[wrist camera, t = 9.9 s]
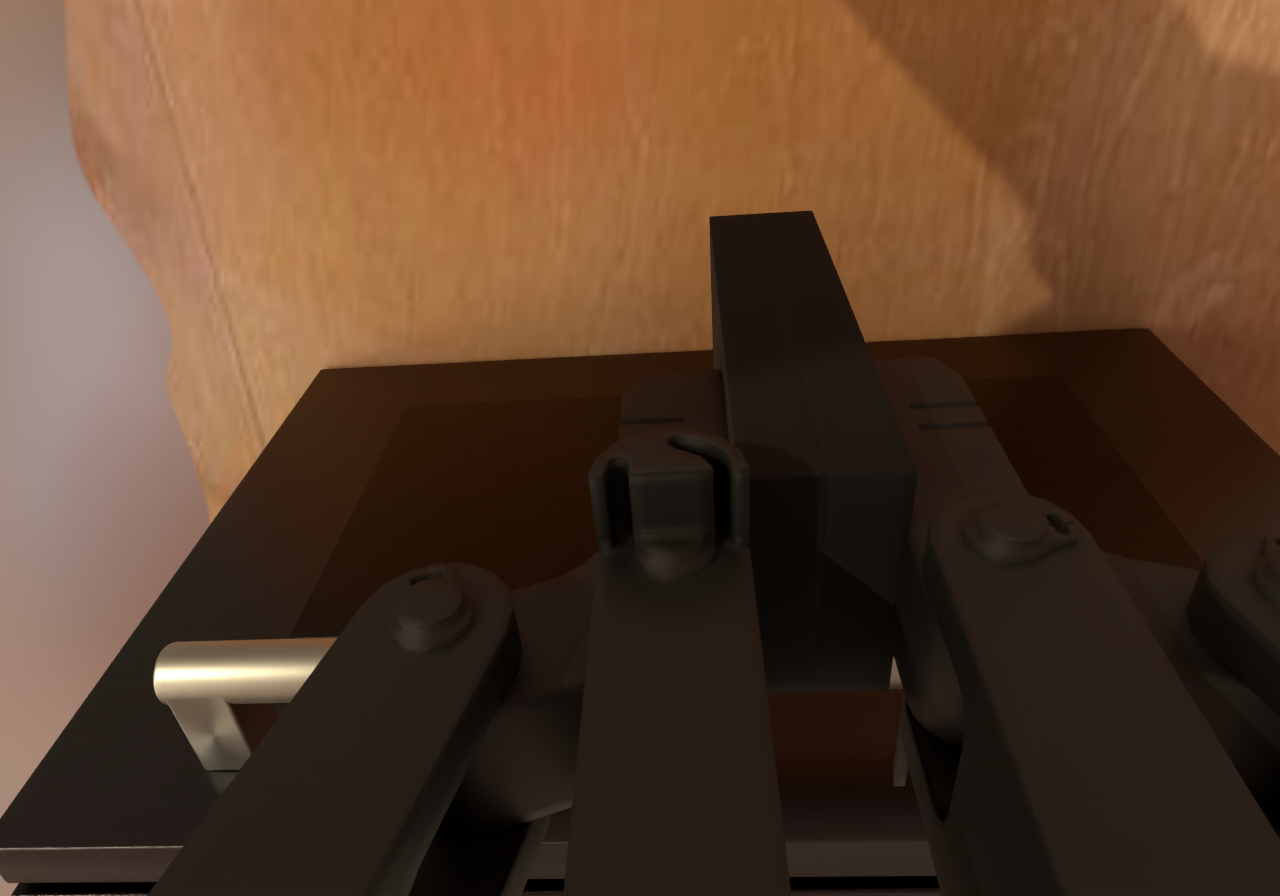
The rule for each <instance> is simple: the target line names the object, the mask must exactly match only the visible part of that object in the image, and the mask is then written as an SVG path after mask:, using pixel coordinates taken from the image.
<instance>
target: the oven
mask: <svg viewBox="0 0 1280 896" xmlns="http://www.w3.org/2000/svg"><path fill="white" fill-rule="evenodd" d="M789 879H790V888H791V896H942V895H941V891H940V887H939V883H938V879H937V876H885V877H789ZM564 882H565V879H528V880H527V883H526V886H525V888H524V891H523V893H522V896H563V892H564ZM156 883H157V882H85V883H19V884H18V885H17V887H16V888H15V890H14V891H13V893H12V895H11V896H147V895H148V894H149V892H150V891H151V889H152V888H153V887H154V885H155V884H156Z"/></svg>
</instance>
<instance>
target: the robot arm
mask: <svg viewBox="0 0 1280 896" xmlns="http://www.w3.org/2000/svg"><path fill="white" fill-rule="evenodd" d="M710 254H711V291H712V328H713V366H714V370H694V371H674V372H653V373H641V374H640V375H639V376H638V377H637V378H636V379H635V381H634V382H633V383H632V384H631V385H630V387H629V388H628V389H627V390H626V391H625V393H624V394H623V395H622V403H621V414H620V425H619V436H618V441H617V442H614V443H613V444H612V445H611V446H609V447H608V448H607V449H606V450H605V451H603V452H602V453H601V454H600V455H598V456H597V457H596V459H595V461H594V463H593V465H592V467H591V470H590V472H589V474H588V479H589V487H590V495H591V503H592V510H593V518H594V526H595V534H596V542H597V549H598V551H597V552H596V553H595V554H594V555H593V556H592V557H590V558H589V559H588V560H587V561H586V562H585V563H584V564H582V565H580V566H579V567H577V568H575V569H573V570H572V571H570V572H568V573H567V574H564V575H562V576H559V577H556V578H553V579H551V580H548V581H545V582H542V583H538V584H535V585H531V586H527V587H524V588H520V589H516V590H513V591H509V589H508V586H507V584H505V583H504V582H503V581H502V580H501V579H500V578H499V577H497V576H496V575H495V574H494V573H493V572H492V571H490V570H487V569H484V568H481V567H477V566H474V565H471V564H468V563H437V564H433V565H430V566H426V567H422V568H418V569H414V570H411V571H408V572H406V573H404V574H402V575H400V576H399V577H397V578H395V579H393V580H391V581H389V582H387V583H386V584H384V585H382V586H381V587H380V588H379V589H378V590H377V591H376V592H375V593H374V594H373V595H372V596H371V597H370V598H368V599H367V600H366V601H365V602H364V603H363V604H362V605H361V607H360V608H359V609H358V611H357V612H356V613H355V615H354V616H353V617H352V619H351V620H350V621H349V623H348V624H347V626H346V627H345V628H344V630H343V631H342V632H341V634H340V635H339V636H338V638H337V639H336V640H335V642H334V643H333V644H332V646H331V647H330V649H329V650H328V651H327V653H326V654H325V655H324V657H323V658H322V659H321V661H320V662H319V663H318V665H317V666H316V667H315V669H314V670H313V672H312V673H311V674H310V676H309V677H308V678H307V680H306V681H305V682H304V684H303V685H302V686H301V688H300V689H299V691H298V692H297V693H296V695H295V696H294V697H293V699H292V700H291V701H290V703H289V704H288V705H287V707H286V708H285V709H284V711H283V712H282V714H281V715H280V716H279V718H278V719H277V720H276V722H275V723H274V724H273V726H272V727H271V728H270V730H269V731H268V732H267V734H266V735H265V737H264V738H263V739H262V741H261V742H260V743H259V745H258V746H257V747H256V749H255V750H254V751H253V753H252V754H251V755H250V757H249V758H248V760H247V761H246V762H245V764H244V765H243V766H242V768H241V769H240V770H239V772H238V773H237V774H236V776H235V777H234V778H233V780H232V781H231V783H230V784H229V785H228V787H227V788H226V789H225V791H224V792H223V793H222V795H221V796H220V797H219V799H218V800H217V801H216V803H215V804H214V806H213V807H212V808H211V810H210V811H209V812H208V814H207V815H206V816H205V818H204V819H203V820H202V822H201V823H200V824H199V826H198V827H197V829H196V830H195V831H194V833H193V834H192V835H191V837H190V838H189V839H188V841H187V842H186V843H185V845H184V846H183V848H182V849H181V850H180V852H179V853H178V854H177V856H176V857H175V858H174V860H173V861H172V862H171V864H170V865H169V866H168V868H167V869H166V871H165V872H164V873H163V875H162V876H161V877H160V879H159V880H158V881H157V883H156V884H155V885H154V887H153V888H152V889H151V891H150V892H149V894H148V895H147V896H522V893H523V891H524V888H525V886H526V883H527V880H528V878H529V875H530V873H531V870H532V867H533V865H534V862H535V860H536V857H537V854H538V852H539V849H540V847H541V844H542V841H543V839H544V836H545V834H546V831H547V828H548V826H549V823H550V818H551V814H553V813H556V812H559V811H562V810H565V809H568V808H571V807H572V813H571V823H570V833H569V842H568V852H567V862H566V872H565V882H564V892H563V896H791V888H790V879H789V871H788V863H787V854H786V846H785V838H784V829H783V821H782V813H781V804H780V796H779V788H778V779H777V771H776V763H775V754H774V746H773V738H772V729H771V721H770V712H769V704H768V696H767V694H786V693H827V692H868V691H889V686H890V679H891V671H892V663H893V656H894V659H895V662H896V666H897V669H898V673H899V676H900V680H901V683H902V687H903V691H904V696H903V702H902V709H901V716H900V723H899V729H898V736H897V743H896V750H895V757H894V763H893V786H905V781H906V775H907V769H908V767H909V771H910V775H911V779H912V783H913V787H914V791H915V794H916V798H917V802H918V806H919V810H920V814H921V818H922V821H923V825H924V829H925V833H926V837H927V841H928V845H929V848H930V852H931V856H932V860H933V864H934V868H935V872H936V875H937V879H938V883H939V887H940V891H941V895H942V896H1280V532H1276V531H1253V532H1238V533H1236V534H1233V535H1231V536H1228V537H1226V538H1224V539H1221V540H1219V541H1217V542H1215V544H1214V545H1213V547H1212V548H1211V550H1210V551H1209V553H1208V554H1207V556H1206V558H1205V560H1204V562H1203V565H1202V568H1201V570H1200V571H1199V570H1194V569H1188V568H1182V567H1177V566H1171V565H1165V564H1159V563H1154V562H1148V561H1142V560H1136V559H1131V558H1127V557H1123V556H1119V555H1115V554H1111V553H1106V552H1104V551H1101V550H1100V548H1099V547H1098V545H1097V543H1096V542H1095V540H1094V539H1093V537H1092V535H1091V534H1090V533H1089V532H1088V530H1087V529H1086V528H1085V527H1084V526H1083V525H1082V524H1081V523H1080V522H1079V521H1078V520H1077V519H1076V518H1075V517H1074V516H1073V515H1072V514H1070V513H1069V512H1067V511H1065V510H1063V509H1061V508H1060V507H1058V506H1056V505H1054V504H1053V503H1051V502H1049V501H1047V500H1044V499H1041V498H1037V497H1034V496H1030V495H1029V494H1028V493H1027V491H1026V489H1025V487H1024V486H1023V484H1022V482H1021V480H1020V479H1019V477H1018V475H1017V473H1016V471H1015V470H1014V468H1013V466H1012V464H1011V463H1010V461H1009V459H1008V457H1007V455H1006V454H1005V452H1004V450H1003V448H1002V447H1001V445H1000V443H999V441H998V440H997V438H996V436H995V434H994V432H993V431H992V429H991V427H987V420H986V418H985V416H984V415H983V413H982V411H981V409H980V408H979V406H976V401H975V399H974V397H973V395H972V393H971V392H970V390H969V388H968V386H967V385H966V383H965V381H964V379H963V378H962V376H961V375H959V374H958V373H956V372H955V371H953V370H952V369H950V368H949V367H948V366H946V365H945V364H943V363H942V362H940V361H939V360H937V359H936V358H934V357H933V356H923V357H902V358H881V359H872V358H871V355H870V353H869V350H868V348H867V346H866V343H865V341H864V338H863V336H862V333H861V331H860V328H859V326H858V323H857V321H856V318H855V316H854V313H853V311H852V308H851V306H850V303H849V301H848V298H847V296H846V294H845V291H844V289H843V286H842V284H841V281H840V279H839V276H838V274H837V271H836V269H835V266H834V264H833V261H832V259H831V256H830V254H829V251H828V249H827V246H826V244H825V242H824V239H823V237H822V234H821V232H820V229H819V227H818V224H817V222H816V219H815V217H814V214H813V212H812V211H798V212H781V213H764V214H747V215H730V216H713V217H710Z"/></svg>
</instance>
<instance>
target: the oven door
mask: <svg viewBox="0 0 1280 896" xmlns="http://www.w3.org/2000/svg"><path fill="white" fill-rule="evenodd" d="M866 346H867V348H868V350H869V353H870V355H871V358H872V359H881V358H902V357H923V356H933V357H934V358H936V359H937V360H939V361H940V362H942V363H943V364H945V365H946V366H948V367H949V368H950V369H952V370H953V371H955V372H956V373H958V374H959V375H961V376H962V378H963V379H964V381H965V383H966V385H967V386H968V388H969V390H970V392H971V393H972V395H973V397H974V399H975V401H976V406H979V408H980V409H981V411H982V413H983V415H984V416H985V418H986V420H987V427H991V429H992V431H993V432H994V434H995V436H996V438H997V440H998V441H999V443H1000V445H1001V447H1002V448H1003V450H1004V452H1005V454H1006V455H1007V457H1008V459H1009V461H1010V463H1011V464H1012V466H1013V468H1014V470H1015V471H1016V473H1017V475H1018V477H1019V479H1020V480H1021V482H1022V484H1023V486H1024V487H1025V489H1026V491H1027V493H1028V494H1029V495H1030V496H1034V497H1037V498H1041V499H1044V500H1047V501H1049V502H1051V503H1053V504H1054V505H1056V506H1058V507H1060V508H1061V509H1063V510H1065V511H1067V512H1069V513H1070V514H1072V515H1073V516H1074V517H1075V518H1076V519H1077V520H1078V521H1079V522H1080V523H1081V524H1082V525H1083V526H1084V527H1085V528H1086V529H1087V530H1088V532H1089V533H1090V534H1091V535H1092V537H1093V539H1094V540H1095V542H1096V543H1097V545H1098V547H1099V548H1100V550H1101V551H1104V552H1106V553H1111V554H1115V555H1119V556H1123V557H1127V558H1131V559H1136V560H1142V561H1148V562H1154V563H1159V564H1165V565H1171V566H1177V567H1182V568H1188V569H1194V570H1199V571H1200V570H1201V568H1202V565H1203V562H1204V560H1205V558H1206V556H1207V554H1208V553H1209V551H1210V550H1211V548H1212V547H1213V545H1214V544H1215V542H1217V541H1219V540H1221V539H1224V538H1226V537H1228V536H1231V535H1233V534H1236V533H1238V532H1253V531H1276V532H1280V456H1279V455H1278V454H1277V453H1276V452H1275V451H1274V450H1273V449H1272V448H1271V447H1270V446H1269V445H1268V444H1267V443H1266V442H1265V441H1263V440H1262V439H1261V438H1260V437H1259V436H1258V435H1257V434H1256V433H1255V432H1254V431H1253V430H1252V429H1251V428H1250V427H1249V426H1248V425H1247V424H1246V423H1245V422H1244V421H1243V420H1242V419H1241V418H1240V417H1239V416H1238V415H1237V414H1236V413H1235V412H1234V411H1232V410H1231V409H1230V408H1229V407H1228V406H1227V405H1226V404H1225V403H1224V402H1223V401H1222V400H1221V399H1220V398H1219V397H1218V396H1217V395H1216V394H1215V393H1214V392H1213V391H1212V390H1211V389H1210V388H1209V387H1208V386H1207V385H1206V384H1205V383H1204V382H1203V381H1202V380H1200V379H1199V378H1198V377H1197V376H1196V375H1195V374H1194V373H1193V372H1192V371H1191V370H1190V369H1189V368H1188V367H1187V366H1186V365H1185V364H1184V363H1183V362H1182V361H1181V360H1180V359H1179V358H1178V357H1177V356H1176V355H1175V354H1174V353H1173V352H1172V351H1171V350H1169V349H1168V348H1167V347H1166V346H1165V345H1164V344H1163V343H1162V342H1161V341H1160V340H1159V339H1158V338H1157V337H1156V336H1155V335H1154V334H1153V333H1152V332H1151V331H1150V330H1149V329H1129V330H1109V331H1089V332H1069V333H1049V334H1029V335H1009V336H988V337H968V338H948V339H928V340H908V341H888V342H868V343H866ZM694 370H714V366H713V350H707V351H686V352H666V353H646V354H626V355H606V356H586V357H566V358H546V359H525V360H505V361H485V362H465V363H445V364H425V365H405V366H384V367H364V368H344V369H324V370H320V372H319V373H318V375H317V376H316V377H315V379H314V380H313V382H312V383H311V384H310V386H309V387H308V389H307V390H306V391H305V393H304V394H303V396H302V397H301V398H300V400H299V401H298V403H297V404H296V405H295V407H294V408H293V410H292V411H291V412H290V414H289V415H288V417H287V418H286V419H285V421H284V422H283V424H282V425H281V426H280V428H279V429H278V431H277V432H276V433H275V435H274V436H273V438H272V439H271V440H270V442H269V443H268V445H267V446H266V447H265V449H264V450H263V452H262V453H261V454H260V456H259V457H258V459H257V460H256V461H255V463H254V464H253V466H252V467H251V468H250V470H249V471H248V473H247V474H246V475H245V477H244V478H243V480H242V481H241V482H240V484H239V485H238V487H237V488H236V489H235V491H234V492H233V494H232V495H231V496H230V498H229V499H228V501H227V502H226V503H225V505H224V506H223V508H222V509H221V510H220V512H219V513H218V515H217V516H216V517H215V519H214V520H213V522H212V523H211V524H210V526H209V527H208V529H207V530H206V531H205V533H204V534H203V536H202V537H201V538H200V540H199V541H198V543H197V544H196V546H195V547H194V548H193V550H192V551H191V552H190V554H189V555H188V557H187V558H186V559H185V561H184V562H183V564H182V565H181V566H180V568H179V569H178V571H177V572H176V573H175V575H174V576H173V578H172V579H171V580H170V582H169V583H168V585H167V586H166V587H165V589H164V590H163V592H162V593H161V594H160V596H159V597H158V599H157V600H156V601H155V603H154V604H153V606H152V607H151V608H150V610H149V611H148V613H147V614H146V615H145V617H144V618H143V620H142V621H141V622H140V624H139V625H138V627H137V628H136V629H135V631H134V632H133V634H132V635H131V636H130V638H129V639H128V641H127V642H126V643H125V645H124V646H123V648H122V649H121V650H120V652H119V653H118V655H117V656H116V657H115V659H114V660H113V662H112V663H111V664H110V666H109V667H108V669H107V670H106V671H105V673H104V674H103V676H102V677H101V678H100V680H99V681H98V683H97V684H96V685H95V687H94V688H93V690H92V691H91V692H90V694H89V695H88V697H87V698H86V699H85V701H84V702H83V704H82V705H81V706H80V708H79V709H78V711H77V712H76V713H75V715H74V716H73V718H72V719H71V720H70V722H69V723H68V725H67V726H66V727H65V729H64V730H63V732H62V733H61V735H60V736H59V737H58V739H57V740H56V741H55V743H54V744H53V746H52V747H51V749H50V750H49V751H48V753H47V754H46V756H45V757H44V758H43V760H42V761H41V762H40V764H39V765H38V767H37V768H36V769H35V771H34V772H33V774H32V775H31V777H30V778H29V779H28V781H27V782H26V783H25V785H24V786H23V788H22V789H21V790H20V792H19V793H18V795H17V796H16V797H15V799H14V800H13V802H12V803H11V804H10V806H9V807H8V809H7V810H6V812H5V813H4V814H3V816H2V817H1V818H0V875H1V876H2V878H3V879H4V880H5V881H6V882H7V883H85V882H157V881H158V880H159V879H160V877H161V876H162V875H163V873H164V872H165V871H166V869H167V868H168V866H169V865H170V864H171V862H172V861H173V860H174V858H175V857H176V856H177V854H178V853H179V852H180V850H181V849H182V848H183V846H184V845H185V843H186V842H187V841H188V839H189V838H190V837H191V835H192V834H193V833H194V831H195V830H196V829H197V827H198V826H199V824H200V823H201V822H202V820H203V819H204V818H205V816H206V815H207V814H208V812H209V811H210V810H211V808H212V807H213V806H214V804H215V803H216V801H217V800H218V799H219V797H220V796H221V795H222V793H223V792H224V791H225V789H226V788H227V787H228V785H229V784H230V783H231V781H232V780H233V778H234V777H235V776H236V774H237V773H238V772H239V770H240V769H241V768H242V766H243V765H244V764H245V762H246V761H247V760H248V758H249V757H250V755H251V754H252V753H253V751H254V750H255V749H256V747H257V746H258V745H259V743H260V742H261V741H262V739H263V738H264V737H265V735H266V734H267V732H268V731H269V730H270V728H271V727H272V726H273V724H274V723H275V722H276V720H277V719H278V718H279V716H280V715H281V714H282V712H283V711H284V709H285V708H286V707H287V705H288V704H289V703H290V701H291V700H292V699H293V697H294V696H295V695H296V693H297V692H298V691H299V689H300V688H301V686H302V685H303V684H304V682H305V681H306V680H307V678H308V677H309V676H310V674H311V673H312V672H313V670H314V669H315V667H316V666H317V665H318V663H319V662H320V661H321V659H322V658H323V657H324V655H325V654H326V653H327V651H328V650H329V649H330V647H331V646H332V644H333V643H334V642H335V640H336V639H337V638H338V636H339V635H340V634H341V632H342V631H343V630H344V628H345V627H346V626H347V624H348V623H349V621H350V620H351V619H352V617H353V616H354V615H355V613H356V612H357V611H358V609H359V608H360V607H361V605H362V604H363V603H364V602H365V601H366V600H367V599H368V598H370V597H371V596H372V595H373V594H374V593H375V592H376V591H377V590H378V589H379V588H380V587H381V586H382V585H384V584H386V583H387V582H389V581H391V580H393V579H395V578H397V577H399V576H400V575H402V574H404V573H406V572H408V571H411V570H414V569H418V568H422V567H426V566H430V565H433V564H437V563H468V564H471V565H474V566H477V567H481V568H484V569H487V570H490V571H492V572H493V573H494V574H495V575H496V576H497V577H499V578H500V579H501V580H502V581H503V582H504V583H505V584H507V586H508V589H509V591H513V590H516V589H520V588H524V587H527V586H531V585H535V584H538V583H542V582H545V581H548V580H551V579H553V578H556V577H559V576H562V575H564V574H567V573H568V572H570V571H572V570H573V569H575V568H577V567H579V566H580V565H582V564H584V563H585V562H586V561H587V560H588V559H589V558H590V557H592V556H593V555H594V554H595V553H596V552H597V551H598V549H597V542H596V534H595V526H594V518H593V510H592V503H591V495H590V487H589V479H588V474H589V472H590V470H591V467H592V465H593V463H594V461H595V459H596V457H597V456H598V455H600V454H601V453H602V452H603V451H605V450H606V449H607V448H608V447H609V446H611V445H612V444H613V443H614V442H617V441H618V436H619V425H620V414H621V403H622V395H623V394H624V393H625V391H626V390H627V389H628V388H629V387H630V385H631V384H632V383H633V382H634V381H635V379H636V378H637V377H638V376H639V375H640V374H641V373H653V372H674V371H694ZM767 696H768V704H769V712H770V721H771V729H772V738H773V746H774V754H775V763H776V771H777V779H778V788H779V796H780V804H781V813H782V821H783V829H784V838H785V846H786V854H787V863H788V871H789V877H885V876H937V875H936V872H935V868H934V864H933V860H932V856H931V852H930V848H929V845H928V841H927V837H926V833H925V829H924V825H923V821H922V818H921V814H920V810H919V806H918V802H917V798H916V794H915V791H914V787H913V783H912V779H911V775H910V771H909V767H908V769H907V775H906V781H905V786H893V763H894V757H895V750H896V743H897V736H898V729H899V723H900V716H901V709H902V702H903V696H904V691H903V687H902V683H901V680H900V676H899V673H898V669H897V666H896V662H895V659H894V656H893V663H892V671H891V679H890V686H889V691H868V692H827V693H786V694H767ZM571 813H572V807H571V808H568V809H565V810H562V811H559V812H556V813H553V814H551V818H550V823H549V826H548V828H547V831H546V834H545V836H544V839H543V841H542V844H541V847H540V849H539V852H538V854H537V857H536V860H535V862H534V865H533V867H532V870H531V873H530V875H529V878H528V879H565V872H566V862H567V852H568V842H569V833H570V823H571Z"/></svg>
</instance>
